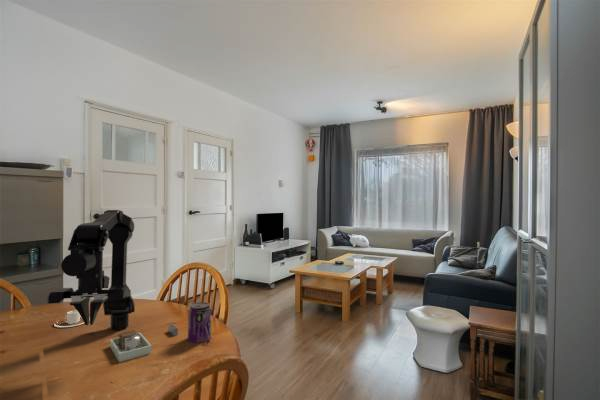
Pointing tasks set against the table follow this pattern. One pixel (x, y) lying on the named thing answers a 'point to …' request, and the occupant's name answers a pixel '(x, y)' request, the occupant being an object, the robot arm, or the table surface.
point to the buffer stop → (173, 330)
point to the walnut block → (122, 337)
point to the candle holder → (72, 318)
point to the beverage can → (199, 322)
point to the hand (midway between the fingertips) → (89, 324)
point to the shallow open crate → (123, 356)
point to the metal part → (132, 342)
